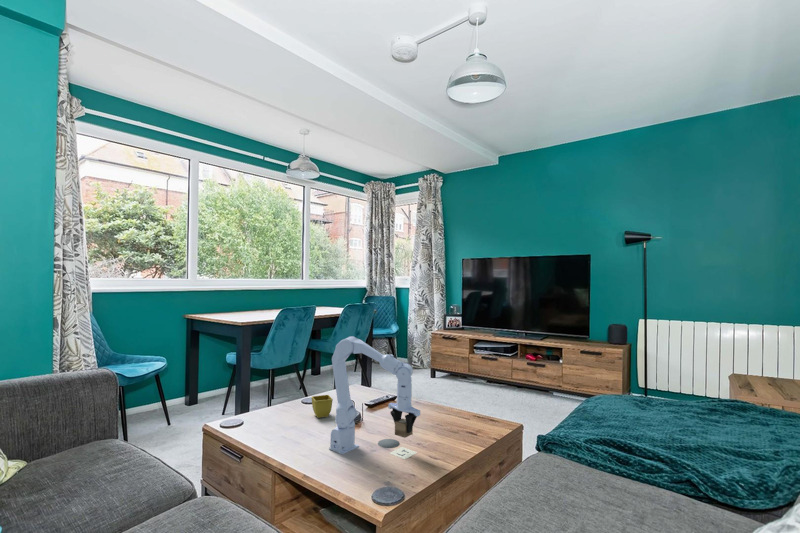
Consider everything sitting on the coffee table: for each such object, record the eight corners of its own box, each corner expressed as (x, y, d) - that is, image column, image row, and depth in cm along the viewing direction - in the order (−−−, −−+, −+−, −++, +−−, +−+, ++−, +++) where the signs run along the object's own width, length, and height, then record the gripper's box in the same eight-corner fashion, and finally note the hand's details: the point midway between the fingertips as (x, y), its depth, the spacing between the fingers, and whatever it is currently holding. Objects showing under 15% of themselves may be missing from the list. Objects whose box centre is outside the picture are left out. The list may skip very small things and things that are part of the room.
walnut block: (404, 437, 153) (404, 424, 153) (394, 434, 156) (394, 421, 156) (412, 434, 157) (412, 420, 157) (402, 431, 160) (402, 418, 160)
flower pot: (310, 414, 199) (311, 396, 200) (327, 412, 203) (328, 394, 203) (314, 420, 191) (315, 401, 192) (332, 417, 195) (333, 399, 195)
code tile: (405, 460, 150) (405, 459, 150) (388, 454, 155) (388, 453, 156) (417, 453, 157) (417, 452, 157) (401, 447, 162) (401, 446, 162)
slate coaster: (390, 450, 158) (390, 449, 158) (373, 444, 164) (373, 443, 164) (404, 443, 165) (404, 442, 165) (387, 438, 171) (387, 437, 171)
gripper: (425, 397, 155) (424, 432, 155) (396, 390, 165) (395, 423, 164) (414, 401, 150) (413, 437, 149) (385, 393, 159) (384, 428, 159)
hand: (403, 430), depth 156 cm, fingers closed on walnut block, 5 cm apart
